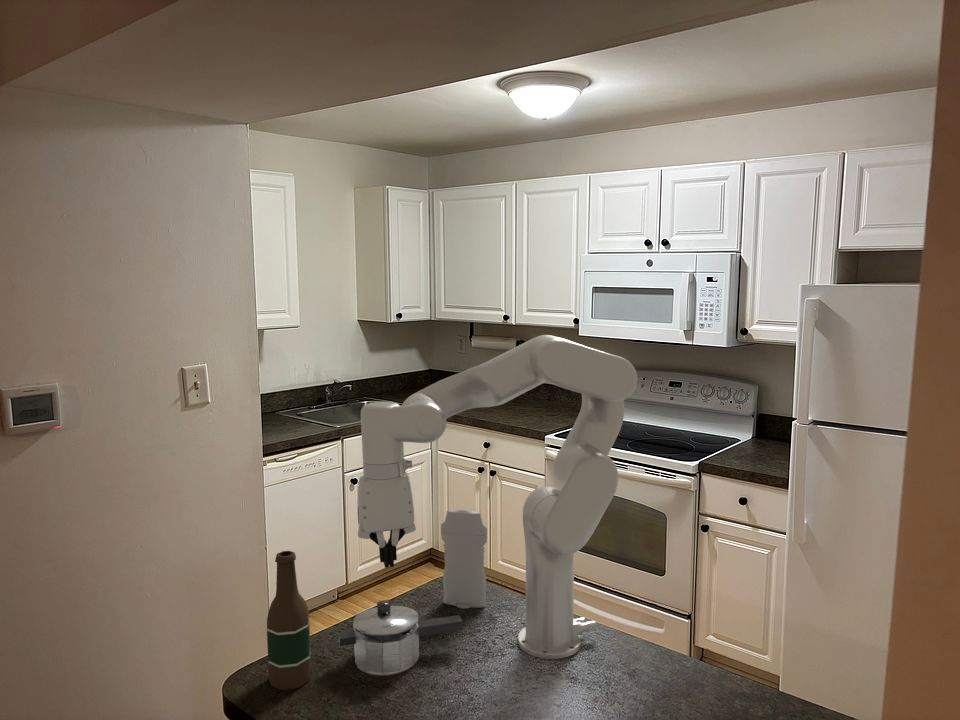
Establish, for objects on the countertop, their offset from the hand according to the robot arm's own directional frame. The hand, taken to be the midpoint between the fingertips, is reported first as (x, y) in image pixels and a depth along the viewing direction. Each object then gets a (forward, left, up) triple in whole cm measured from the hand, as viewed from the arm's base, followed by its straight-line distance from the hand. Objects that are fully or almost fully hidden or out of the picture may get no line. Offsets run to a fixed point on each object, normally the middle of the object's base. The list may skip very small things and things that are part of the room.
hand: (388, 564), depth 130 cm
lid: (0, -2, -12) cm, 12 cm away
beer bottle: (+18, 0, -20) cm, 27 cm away
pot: (-2, -2, -20) cm, 20 cm away
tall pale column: (-20, -19, -20) cm, 34 cm away
